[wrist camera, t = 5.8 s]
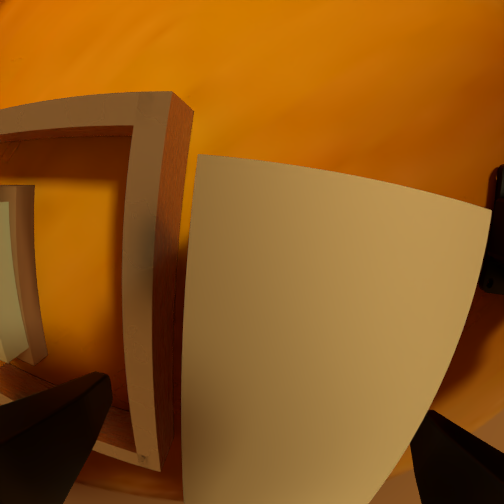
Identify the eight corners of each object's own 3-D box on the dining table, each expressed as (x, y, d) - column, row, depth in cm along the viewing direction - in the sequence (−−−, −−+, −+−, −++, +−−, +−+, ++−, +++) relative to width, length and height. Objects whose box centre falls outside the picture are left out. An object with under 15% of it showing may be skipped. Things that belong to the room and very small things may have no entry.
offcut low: (40, 184, 13) (16, 186, 11) (52, 351, 16) (34, 365, 14) (-1, 184, 14) (-24, 186, 12) (11, 335, 16) (-6, 346, 14)
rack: (194, 111, 12) (172, 91, 9) (174, 436, 15) (160, 471, 13) (-7, 124, 12) (-41, 121, 9) (10, 375, 16) (-13, 395, 13)
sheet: (328, 189, 12) (492, 209, 2) (281, 421, 15) (281, 590, 5) (255, 178, 12) (197, 153, 3) (226, 414, 15) (191, 582, 5)
